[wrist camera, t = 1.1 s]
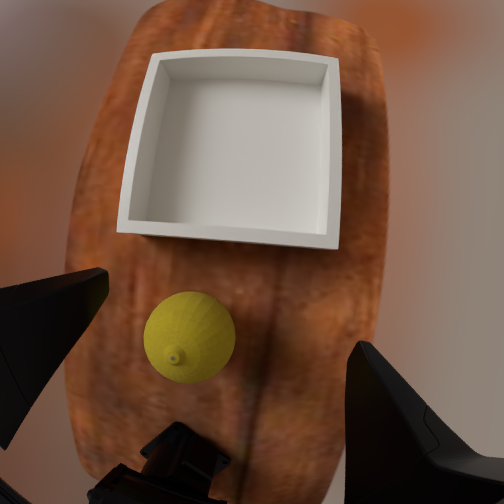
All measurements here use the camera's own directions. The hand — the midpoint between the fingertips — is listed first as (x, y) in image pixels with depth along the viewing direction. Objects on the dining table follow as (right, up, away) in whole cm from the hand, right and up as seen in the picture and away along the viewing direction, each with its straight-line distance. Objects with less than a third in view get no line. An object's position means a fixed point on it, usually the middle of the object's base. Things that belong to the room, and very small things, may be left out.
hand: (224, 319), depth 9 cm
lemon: (-3, -3, +12) cm, 13 cm away
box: (0, +10, +12) cm, 15 cm away
